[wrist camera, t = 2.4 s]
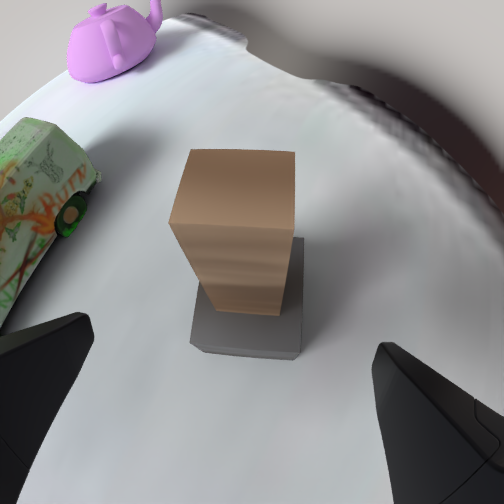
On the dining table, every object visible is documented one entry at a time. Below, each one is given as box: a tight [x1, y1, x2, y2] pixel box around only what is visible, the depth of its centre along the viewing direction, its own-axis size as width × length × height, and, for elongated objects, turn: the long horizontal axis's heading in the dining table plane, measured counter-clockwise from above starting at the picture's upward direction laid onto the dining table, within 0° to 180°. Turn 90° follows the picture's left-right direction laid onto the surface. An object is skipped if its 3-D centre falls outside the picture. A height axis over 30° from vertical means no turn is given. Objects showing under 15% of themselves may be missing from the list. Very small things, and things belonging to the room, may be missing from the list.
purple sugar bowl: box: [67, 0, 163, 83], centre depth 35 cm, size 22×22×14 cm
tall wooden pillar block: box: [168, 149, 304, 360], centre depth 14 cm, size 7×6×13 cm
